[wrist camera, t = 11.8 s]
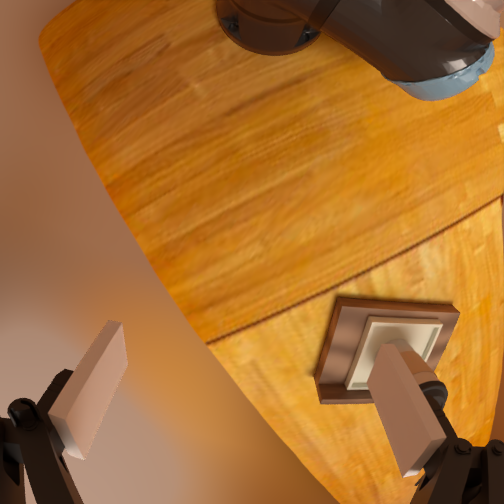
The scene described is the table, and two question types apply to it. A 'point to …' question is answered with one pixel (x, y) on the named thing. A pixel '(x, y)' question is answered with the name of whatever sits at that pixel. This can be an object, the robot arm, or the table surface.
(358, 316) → the shelf
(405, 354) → the coffee cup
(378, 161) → the table surface
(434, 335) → the tray
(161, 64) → the table surface
